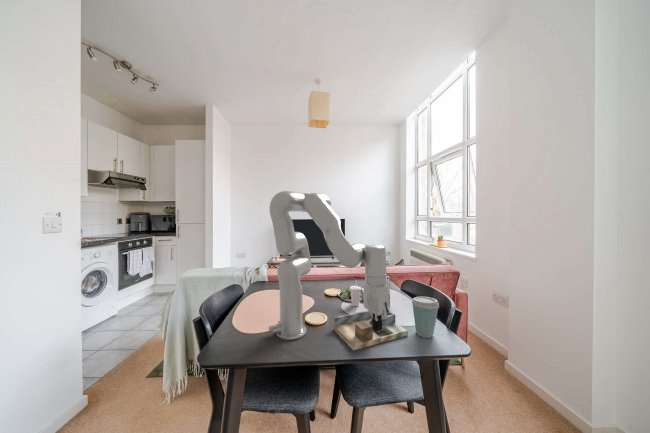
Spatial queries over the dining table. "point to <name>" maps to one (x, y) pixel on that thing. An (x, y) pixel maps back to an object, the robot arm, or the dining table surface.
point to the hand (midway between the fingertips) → (377, 329)
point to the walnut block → (363, 331)
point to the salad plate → (349, 295)
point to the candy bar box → (388, 287)
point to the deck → (347, 324)
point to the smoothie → (355, 294)
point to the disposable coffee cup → (425, 315)
